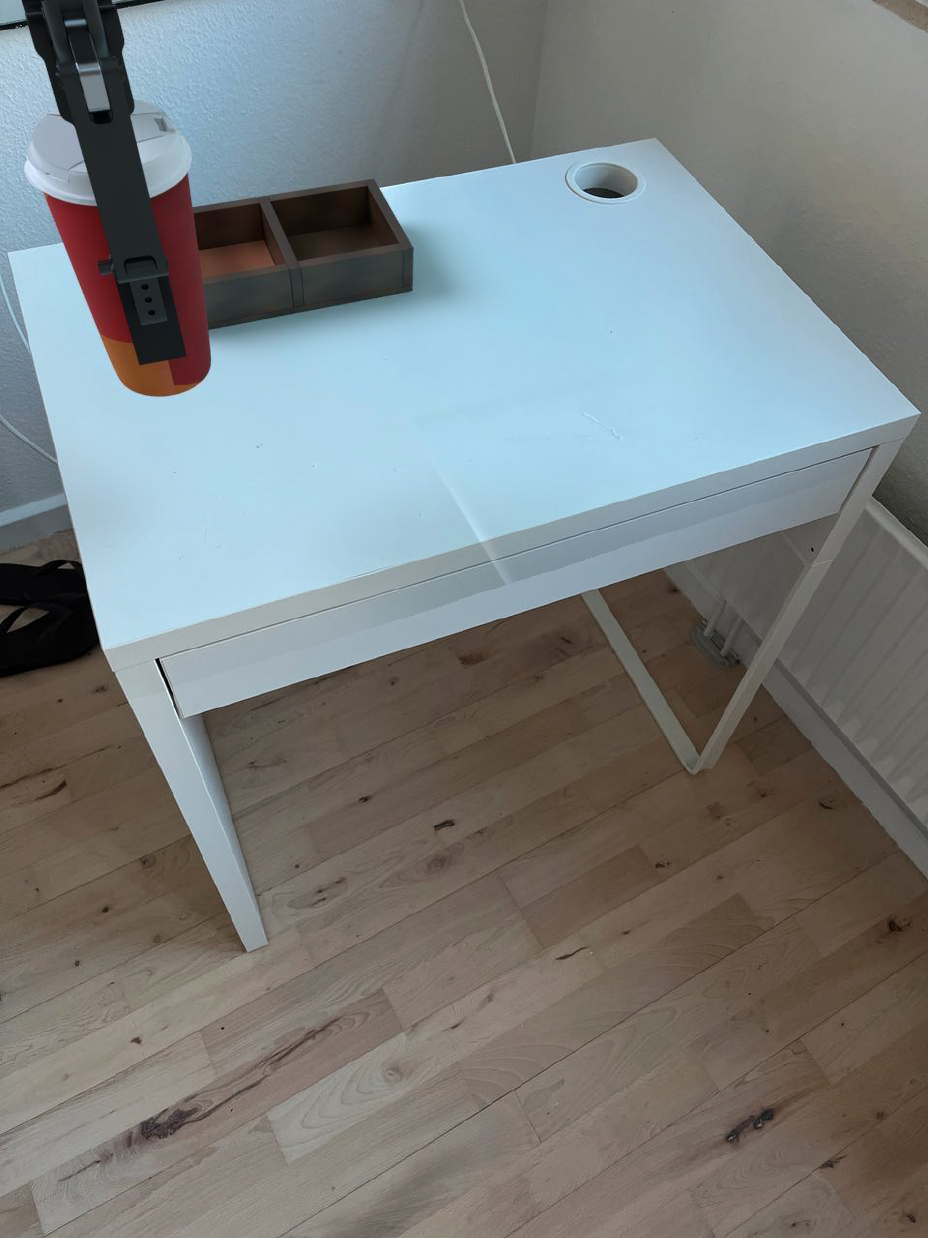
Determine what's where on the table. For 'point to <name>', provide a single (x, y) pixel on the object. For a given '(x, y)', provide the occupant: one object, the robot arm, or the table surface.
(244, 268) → the cup holder
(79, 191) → the coffee cup
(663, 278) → the table surface
